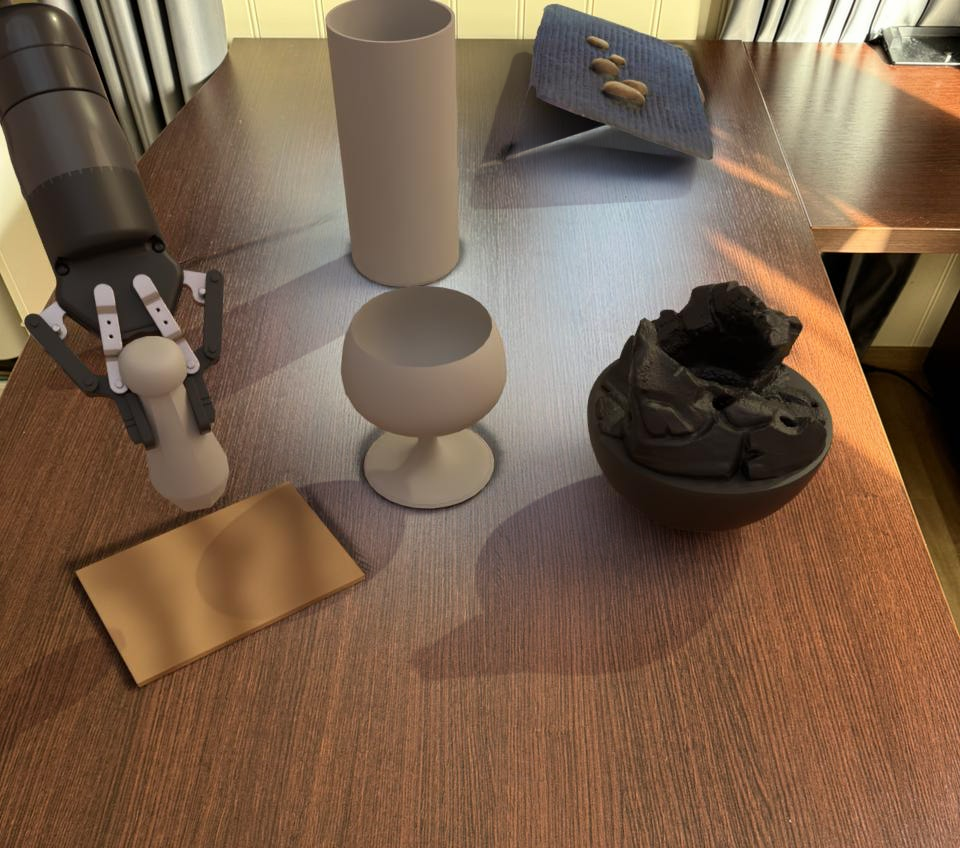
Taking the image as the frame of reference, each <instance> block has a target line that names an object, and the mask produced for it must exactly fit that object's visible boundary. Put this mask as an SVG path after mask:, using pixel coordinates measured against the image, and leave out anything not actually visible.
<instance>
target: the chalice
mask: <svg viewBox="0 0 960 848" xmlns="http://www.w3.org/2000/svg"><path fill="white" fill-rule="evenodd" d="M341 352H342V353H341V361H340V377H341V381H342V382H341V383H342V386H343V389H344V394H345V395H346V397H347V399H348V401H350V404H351V405H352V407H353V408H354V410H355V411H356V412H357V413H358V414H359V415H360V416H361V417H362V418H363V419H365V420H366V421H367V422H368V423H370V424H372V425H373V426H375V427H376V428H378V429H379V430H382V431H384V432H385V433H384V434H382V435H381V436H380V437H378V438H377V439H376V440H375V441H374V442H373V443H372V444H371V445H370V446H369V448H368V451H367V453H366V455H365V456H364V462H363V470H364V476H365V478H366V480H367V481H368V484H369V485H370V487H371V488H373V490H375V492H376V493H377V494H379V495H380V496H382V498H385V499H386V500H388V501H390V502H393V503H395V504H397V505H401V506H405V507H410V508H415V509H438V508H447V507H449V506H453V505H456V504H460V503H462V502H464V501H466V500H468V499H470V498H472V497H474V496H475V495H477V494H478V493H480V491H481V490H483V489H484V488H485V486H486V485H487V484H488V482H489V481H490V480H491V478H492V475H493V473H494V469H495V458H494V455H493V452H492V450H491V448H490V446H489V445H488V443H487V442H486V441H485V440H484V439H483V438H482V437H481V436H480V435H479V434H477V433H476V432H474V431H473V430H470V429H468V428H470V427H473V426H474V425H475V424H477V423H479V422H480V421H481V420H482V419H484V418H485V417H486V416H487V415H488V414H490V413H491V411H492V410H493V409H494V408H495V406H496V405H497V404H498V402H499V400H500V398H501V397H502V394H503V392H504V390H505V387H506V383H507V375H508V374H507V373H508V370H507V369H508V368H507V357H506V350H505V345H504V342H503V338H502V335H501V332H500V330H499V328H498V325H497V324H496V322H495V319H494V318H493V316H492V314H491V313H490V312H489V310H488V309H487V308H486V306H484V305H483V304H482V303H481V302H480V301H479V300H477V299H475V298H474V297H473V296H471V295H469V294H466V293H463V292H461V291H459V290H456V289H452V288H448V287H443V286H433V285H420V286H412V287H399V288H396V289H393V290H388V291H386V292H383V293H380V294H379V295H377V296H374V297H373V298H371V299H369V300H368V301H367V302H365V303H364V304H362V305H361V307H360V308H359V309H358V310H357V311H356V312H355V313H354V315H353V317H352V319H351V320H350V323H349V325H348V327H347V329H346V332H345V335H344V339H343V343H342V351H341Z"/></svg>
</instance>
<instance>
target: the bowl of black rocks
mask: <svg viewBox="0 0 960 848" xmlns="http://www.w3.org/2000/svg"><path fill="white" fill-rule="evenodd" d="M803 329H804V326H803V323H802V321H801V320H800V318H798V316H795V315H787V314H785V313H784V312H783V311H781V310H778V309H774V308H771V307H768V306H767V305H766V304H765V302H764V301H763V299H761V298H760V297H759V296H758V295H757V294H756V293H755V292H754V291H753V290H752V289H751V288H750V287H749V286H747V285H740V284H739V282H738V281H737V280H729V281H725V282H724V281H723V282H719V283H709V284H702V285H698V286H696V287H694V288H693V289H692V290H691V292H690V297H689V299H688V301H687V304H685V305H684V307H683V308H682V309H681V310H679V312H678V311H676V310H675V309H666V308H665V309H662V310H660V312H659V317H658V318H656V319H652V320H649V319H648V318H647V317H643V318H642V319H640V320H639V322H638V325H637V327H636V331H635V333H634V334H631V335H629V337H628V338H627V339H626V341H625V342H624V344H623V347H622V350H621V352H620V355H619V357H618V358H617V359H615V360H614V361H613V362H611V363H610V364H608V365H607V366H606V367H605V368H604V369H603V370H602V371H601V373H600V374H599V375H598V376H597V378H596V379H595V380H594V382H593V385H592V386H591V389H590V391H589V394H588V398H587V405H586V419H587V431H588V437H589V442H590V445H591V448H592V452H593V454H594V457H595V461H596V462H597V464H598V466H599V468H600V470H601V472H602V475H603V476H604V477H605V479H606V481H607V482H608V483H609V485H610V487H611V488H612V489H613V490H614V492H615V493H616V494H617V495H618V496H619V497H620V498H621V499H622V500H623V501H624V502H625V503H626V504H627V505H629V507H631V508H632V509H634V510H635V511H637V512H638V513H640V514H641V515H643V516H644V517H646V518H648V519H649V520H652V521H653V522H656V523H657V524H660V525H663V526H665V527H669V528H672V529H676V530H680V531H686V532H692V533H694V532H695V533H718V532H726V531H732V530H737V529H741V528H745V527H747V526H750V525H752V524H755V523H759V522H760V521H763V520H764V519H767V518H768V517H770V516H771V515H773V514H775V513H777V512H778V511H780V510H781V509H783V508H784V507H785V506H787V505H788V504H789V503H790V502H792V500H794V499H795V498H796V497H797V496H798V495H799V494H800V493H801V492H802V491H803V490H804V489H805V488H806V487H807V486H808V485H809V483H811V481H812V480H813V479H814V477H815V476H816V475H817V473H818V471H819V470H820V468H822V465H823V463H824V461H825V459H826V458H827V456H828V453H830V449H831V446H832V442H833V437H834V423H833V417H832V414H831V411H830V408H829V406H828V404H827V402H826V401H825V399H824V397H823V396H822V394H821V393H820V392H819V391H818V389H817V388H816V387H815V386H814V385H813V384H812V383H811V381H809V380H808V379H807V378H806V377H805V376H804V375H802V374H801V373H799V372H798V371H797V370H795V369H794V368H792V367H791V366H789V365H787V364H786V363H784V360H785V359H786V358H787V357H788V356H790V354H791V350H792V349H793V346H794V345H795V343H796V341H797V340H798V338H799V337H800V334H801V333H802V331H803Z"/></svg>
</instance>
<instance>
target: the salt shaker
mask: <svg viewBox="0 0 960 848" xmlns="http://www.w3.org/2000/svg"><path fill="white" fill-rule="evenodd" d="M123 348H124V349H123V350H122V352H121V353H120V355H119V356H118V367H119V373H120V376H121V378H122V380H123V382H124V384H125V385H126V386H127V387H128V388H129V389H130V390H131V391H132V392H134V393H136V396H137V399H138V401H139V404H140V406H141V409H142V412H143V414H144V417H145V419H146V422H147V425H148V427H149V430H150V432H151V435H152V438H153V440H154V443H155V446H156V448H155V449H152V450H148V451H146V450H145V449H144V450H145V455H146V457H145V458H146V463H147V464H146V465H147V470H148V475H149V481H150V484H151V485H152V486H153V488H154V489H155V490H156V491H157V492H158V493H159V494H160V495H161V497H163V498H164V499H166V500H168V501H169V503H172V504H174V506H177V507H178V508H180V509H182V510H183V511H184V512H194V511H199V510H205V509H210V508H212V507H213V506H214V505H215V504H216V502H217V501H218V500H219V499H220V498H221V496H222V495H223V494H224V493H225V491H226V487H227V483H228V480H229V476H230V467H229V461H228V456H227V454H226V452H225V451H224V449H223V448H222V446H221V444H220V442H219V441H218V439H217V437H216V436H215V434H214V433H213V431H212V430H211V432H210V433H207V434H203V435H201V433H200V430H199V427H198V424H197V421H196V418H195V415H194V412H193V409H192V406H191V403H190V400H189V397H188V394H187V391H186V389H185V387H184V384H183V381H184V379H185V378H186V376H187V367H186V361H185V357H184V354H183V352H182V350H181V349H180V347H179V346H178V345H177V344H176V343H175V342H174V341H172V340H169V339H167V338H163V337H160V336H146V337H142V338H139V339H136V340H134V341H132V342H130V343H129V344H127V345H126V346H124V347H123Z"/></svg>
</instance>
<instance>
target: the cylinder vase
mask: <svg viewBox="0 0 960 848" xmlns="http://www.w3.org/2000/svg"><path fill="white" fill-rule="evenodd" d="M324 21H325V31H326V39H327V40H326V41H327V48H328V56H329V64H330V65H329V66H330V73H331V75H330V76H331V83H332V91H333V99H334V109H335V118H336V126H337V134H338V142H339V143H338V144H339V153H340V162H341V170H342V179H343V187H344V196H345V204H346V213H347V214H346V215H347V220H348V221H347V222H348V230H349V238H350V239H349V241H350V247H351V256H352V262H353V264H354V266H355V268H356V270H357V271H358V272H359V273H360V274H361V275H362V276H363V277H366V279H368V280H370V281H372V282H375V283H377V284H381V285H384V286H387V287H388V286H389V287H396V288H397V287H399V288H405V287H412V286H426V285H427V284H431V283H435V282H436V281H439V280H441V279H443V278H444V277H446V276H447V275H449V274H450V273H451V272H452V271H453V270H454V268H455V267H456V266H457V264H458V261H459V260H460V215H459V214H460V213H459V212H460V211H459V210H460V209H459V158H458V157H459V155H458V152H459V151H458V150H459V149H458V105H457V103H458V102H457V99H458V97H457V95H458V94H457V55H456V54H457V48H456V47H457V46H456V45H457V44H456V41H457V40H456V14H455V12H454V11H453V9H452V8H451V7H450V6H448V5H447V4H445V3H443V2H441V1H438V0H348V1H344V2H342V3H340V4H338V5H336V6H335V7H333V8H332V9H330V10H329V11H328V12H327V13H326V16H325V18H324Z"/></svg>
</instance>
